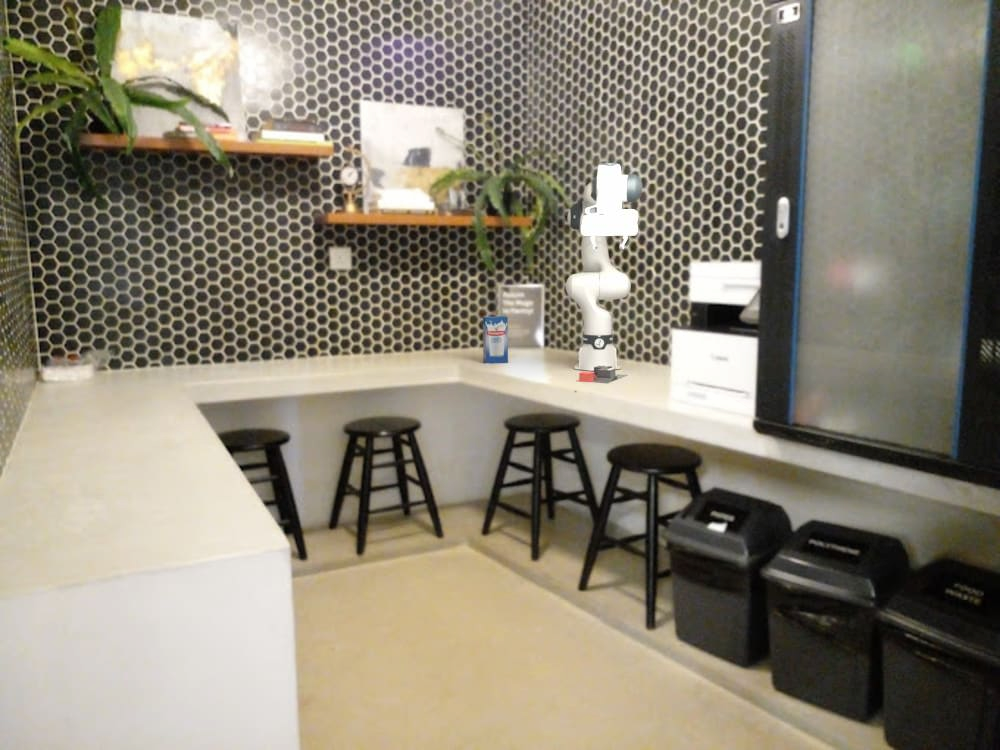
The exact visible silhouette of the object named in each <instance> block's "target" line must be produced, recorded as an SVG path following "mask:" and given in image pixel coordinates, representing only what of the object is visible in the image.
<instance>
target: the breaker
mask: <svg viewBox="0 0 1000 750" xmlns="http://www.w3.org/2000/svg"><path fill="white" fill-rule="evenodd" d="M615 374H616V369H613V368H611V369H610V368H601V369H598V370H597V378H612V380H613V379H615Z"/></svg>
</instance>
